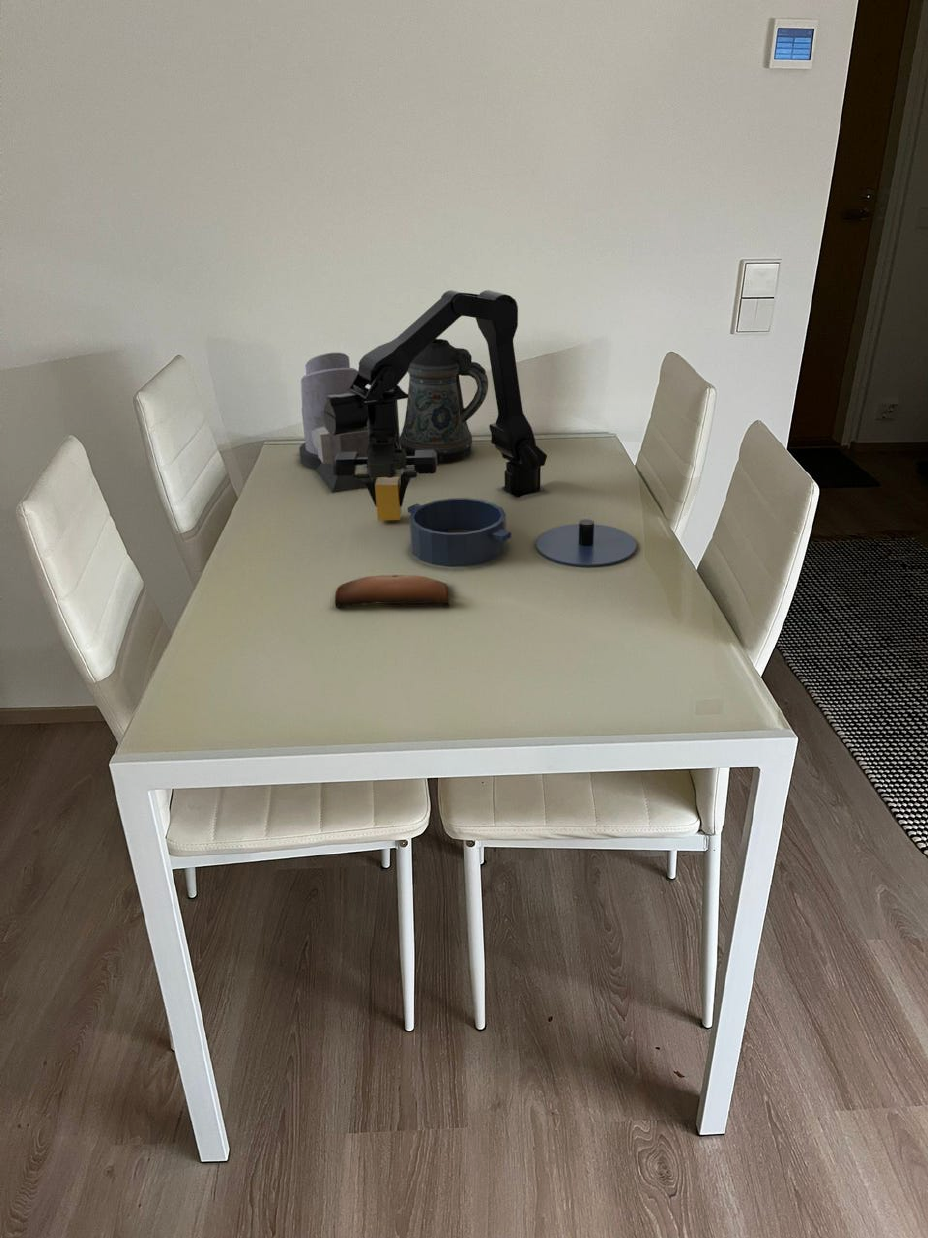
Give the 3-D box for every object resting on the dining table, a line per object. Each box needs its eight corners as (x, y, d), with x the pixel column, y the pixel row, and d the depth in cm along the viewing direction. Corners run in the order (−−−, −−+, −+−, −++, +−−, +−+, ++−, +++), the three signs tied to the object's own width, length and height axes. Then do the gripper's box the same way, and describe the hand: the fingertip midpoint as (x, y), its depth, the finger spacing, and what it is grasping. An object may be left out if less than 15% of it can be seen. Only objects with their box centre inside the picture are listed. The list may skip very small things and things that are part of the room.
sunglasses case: (450, 581, 158) (448, 558, 152) (450, 618, 155) (448, 596, 149) (341, 584, 158) (335, 561, 153) (338, 621, 155) (332, 599, 149)
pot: (443, 520, 183) (442, 488, 180) (536, 549, 170) (536, 515, 167) (381, 549, 172) (379, 515, 169) (475, 582, 159) (474, 546, 156)
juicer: (293, 451, 222) (280, 343, 210) (360, 442, 227) (351, 336, 215) (321, 493, 197) (309, 374, 185) (396, 482, 202) (389, 365, 190)
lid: (573, 521, 180) (574, 496, 178) (655, 544, 170) (657, 518, 168) (515, 552, 169) (515, 526, 166) (599, 579, 158) (600, 551, 156)
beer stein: (394, 445, 224) (387, 335, 212) (475, 437, 227) (472, 329, 215) (407, 468, 209) (400, 352, 197) (493, 459, 213) (492, 344, 201)
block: (401, 511, 184) (399, 476, 180) (400, 519, 180) (397, 484, 177) (379, 512, 184) (377, 477, 181) (377, 520, 180) (374, 485, 177)
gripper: (325, 440, 167) (333, 523, 174) (432, 437, 166) (436, 521, 174) (333, 421, 177) (341, 501, 184) (435, 418, 176) (439, 498, 183)
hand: (388, 505), depth 181 cm, fingers closed on block, 4 cm apart
